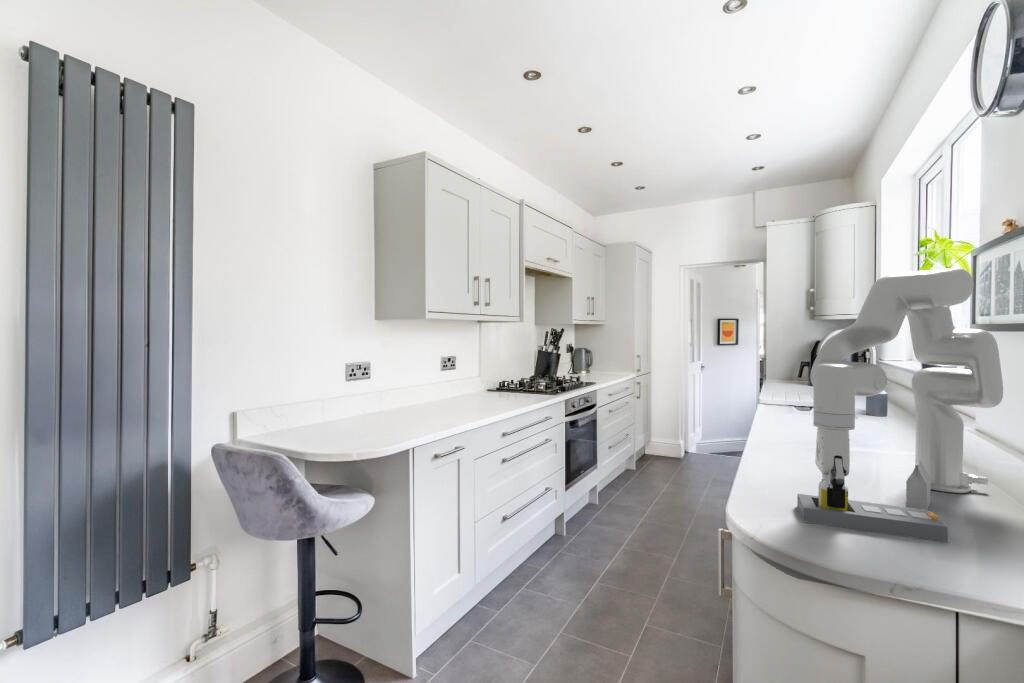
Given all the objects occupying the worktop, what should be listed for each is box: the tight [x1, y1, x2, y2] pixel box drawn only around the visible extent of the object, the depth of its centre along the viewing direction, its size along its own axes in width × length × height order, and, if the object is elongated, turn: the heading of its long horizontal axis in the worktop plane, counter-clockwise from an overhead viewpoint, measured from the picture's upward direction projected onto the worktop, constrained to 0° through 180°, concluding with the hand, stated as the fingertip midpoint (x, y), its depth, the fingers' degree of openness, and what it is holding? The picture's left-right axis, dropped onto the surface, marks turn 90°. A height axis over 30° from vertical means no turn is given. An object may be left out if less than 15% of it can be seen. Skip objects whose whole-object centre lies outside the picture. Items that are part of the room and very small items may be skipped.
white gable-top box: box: [905, 460, 932, 510], centre depth 112 cm, size 4×7×10 cm, turn 133°
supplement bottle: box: [817, 471, 849, 511], centre depth 104 cm, size 5×5×10 cm
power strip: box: [796, 493, 949, 543], centre depth 101 cm, size 24×10×4 cm, turn 65°
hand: (833, 501), depth 104 cm, fingers closed on supplement bottle, 5 cm apart
